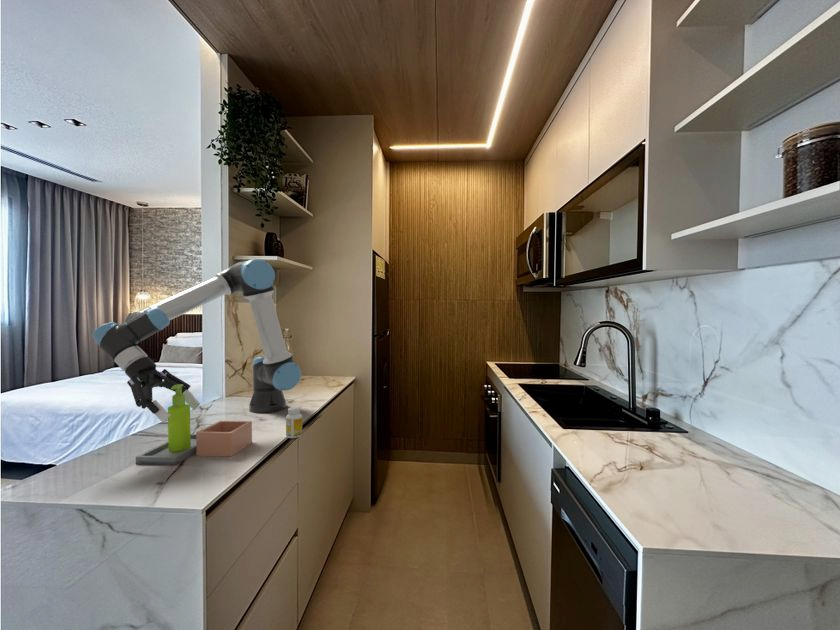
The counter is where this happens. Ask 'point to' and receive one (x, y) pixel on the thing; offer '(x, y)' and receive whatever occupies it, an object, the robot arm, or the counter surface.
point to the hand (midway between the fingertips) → (183, 412)
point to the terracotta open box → (224, 438)
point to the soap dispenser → (179, 422)
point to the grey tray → (167, 454)
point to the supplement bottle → (293, 423)
